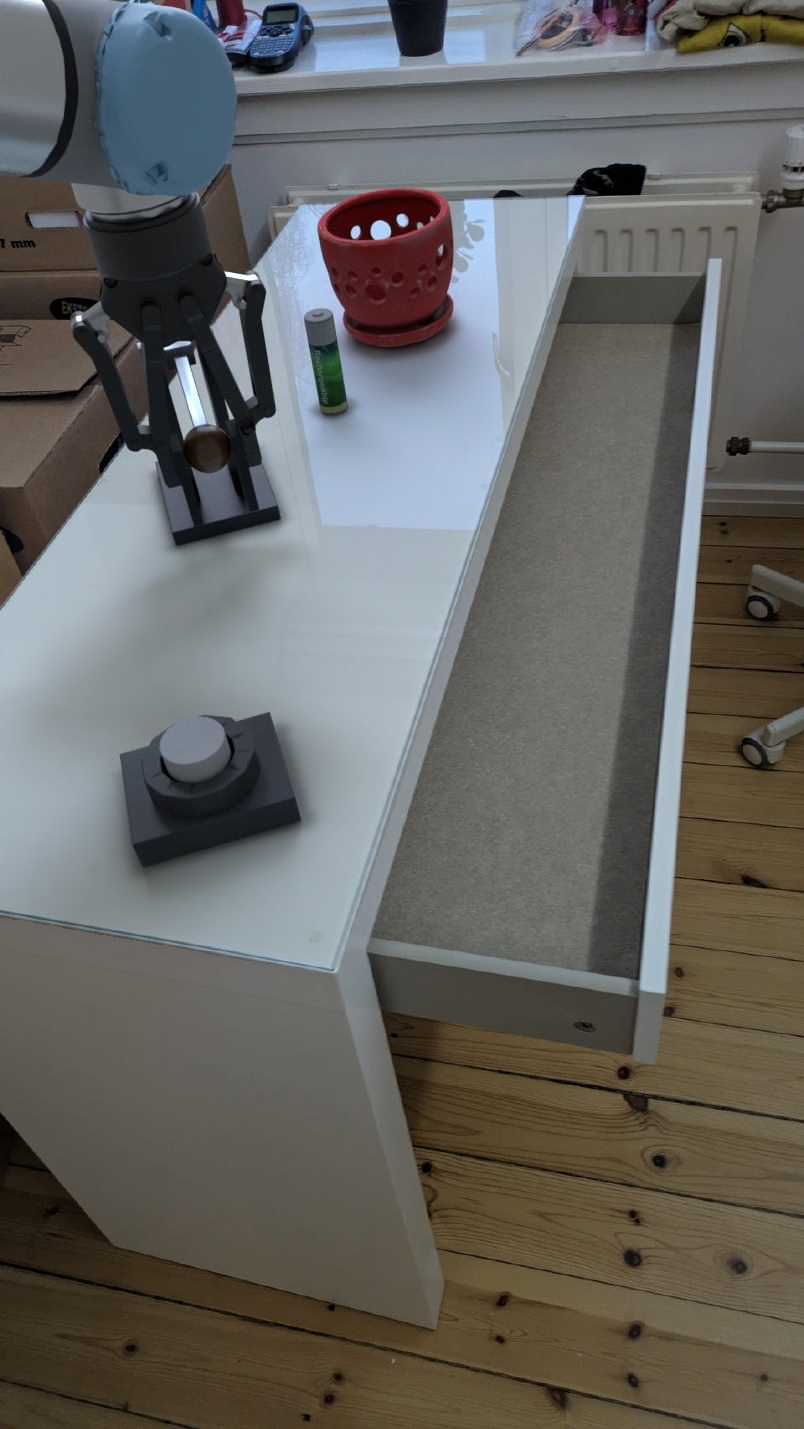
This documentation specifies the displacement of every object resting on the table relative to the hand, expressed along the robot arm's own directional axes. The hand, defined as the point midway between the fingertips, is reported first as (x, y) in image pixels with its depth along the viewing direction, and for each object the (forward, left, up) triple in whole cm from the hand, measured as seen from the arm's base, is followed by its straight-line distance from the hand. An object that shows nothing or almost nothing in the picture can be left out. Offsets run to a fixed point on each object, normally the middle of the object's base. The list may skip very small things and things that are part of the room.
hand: (223, 508), depth 85 cm
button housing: (-6, -25, -5) cm, 26 cm away
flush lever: (0, +6, +5) cm, 8 cm away
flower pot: (+23, +33, -5) cm, 40 cm away
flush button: (-6, -25, -1) cm, 26 cm away
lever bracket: (0, +10, -5) cm, 11 cm away
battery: (+13, +20, -5) cm, 24 cm away
